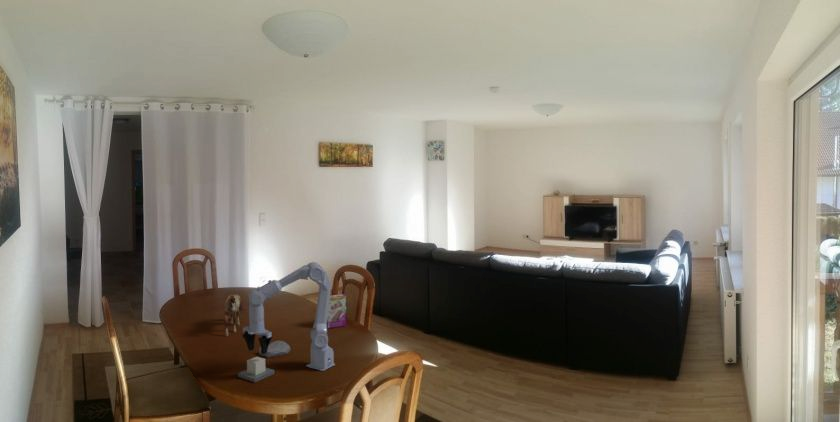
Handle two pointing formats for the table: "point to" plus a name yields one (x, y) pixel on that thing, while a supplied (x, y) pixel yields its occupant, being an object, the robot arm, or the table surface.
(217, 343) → the table surface
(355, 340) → the table surface
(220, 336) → the table surface
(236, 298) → the brown animal figure
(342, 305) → the candy bar box
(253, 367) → the cube
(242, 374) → the slate tile
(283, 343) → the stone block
